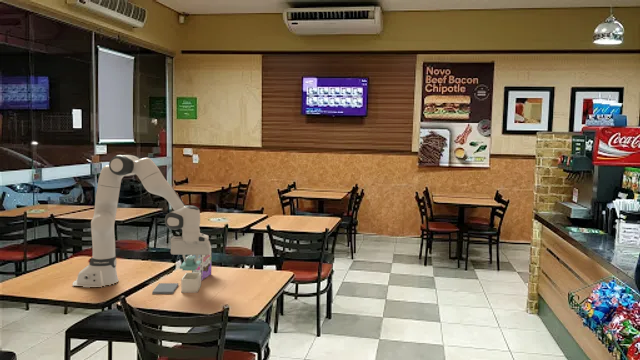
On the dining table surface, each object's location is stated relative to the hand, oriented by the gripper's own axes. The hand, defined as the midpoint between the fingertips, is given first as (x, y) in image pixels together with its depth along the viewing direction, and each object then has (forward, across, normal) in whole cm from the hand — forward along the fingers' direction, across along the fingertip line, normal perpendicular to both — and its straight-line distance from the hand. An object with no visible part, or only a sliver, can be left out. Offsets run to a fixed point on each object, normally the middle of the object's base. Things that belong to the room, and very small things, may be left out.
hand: (190, 262), depth 250 cm
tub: (+14, +1, 0) cm, 14 cm away
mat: (+14, -12, -1) cm, 19 cm away
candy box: (+14, +3, +21) cm, 26 cm away
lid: (+3, 0, 0) cm, 3 cm away
